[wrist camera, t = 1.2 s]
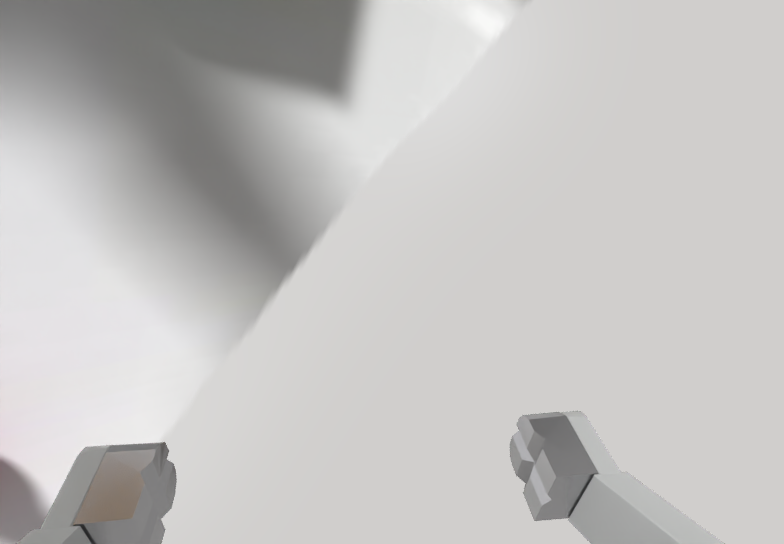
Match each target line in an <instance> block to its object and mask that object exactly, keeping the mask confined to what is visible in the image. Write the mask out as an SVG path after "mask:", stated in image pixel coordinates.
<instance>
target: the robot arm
mask: <svg viewBox="0 0 784 544" xmlns="http://www.w3.org/2000/svg"><path fill="white" fill-rule="evenodd" d="M517 427H518V429H519V431H518V432H517V433H516V434H514V435H513V436H512V439H511V442H510V457H511V462H512V465H513V468H514V470H515V473H516V475H517V476H518V477H519V478H520V479H521V480H523V481H524V482H525V483H526V484H525V488H524V492H523V494H524V496H525V499H526V501H527V503H528V506H529V508H530V511H531V514H532V516H533V518H534V520H535V521H539V520H551V519H562V518H569V519H568V520H569V522H570V523H571V524H572V525H573V526H574V527H575V528H576V529H577V530H578V531H579V532H580V533H581V534H582V535H583V536H584V537H585V538H586V539H587V540H588V541H589V542H590V543H591V544H725V543H723V542H722V541H720V540H719V539H718V538H716V537H715V536H714V535H712V534H711V533H710V532H708V531H707V530H705V529H704V528H703V527H701V526H700V525H699V524H697V523H696V522H695V521H693V520H692V519H690V518H689V517H688V516H686V515H685V514H684V513H682V512H681V511H680V510H678V509H677V508H675V507H674V506H673V505H671V504H670V503H669V502H667V501H666V500H664V499H663V498H662V497H661V496H659V495H658V494H656V493H655V492H654V491H652V490H651V489H649V488H648V487H647V486H645V485H644V484H643V483H641V482H640V481H639V480H637V479H636V478H635V477H633V476H632V475H631V474H629V473H628V472H621V471H620V470H619V468H618V466H617V465H616V463H615V462H614V460H613V459H612V457H611V455H610V454H609V452H608V450H607V449H606V447H605V445H604V444H603V443H602V441H601V439H600V437H599V436H598V434H597V433H596V431H595V429H594V428H593V426H592V425H591V423H590V421H589V420H588V418H587V416H586V415H585V414H584V413H582V412H581V411H572V412H562V413H560V412H553V413H543V414H531V415H523V416H521V417H520V418H519V420H518V422H517ZM168 452H169V450H168V448H167V445H166V443H165V442H159V443H143V444H126V445H106V446H93V447H85V448H84V449H83V450H82V451H81V453H80V454H79V455H78V456H77V458H76V460H75V462H74V464H73V466H72V468H71V470H70V471H69V473H68V475H67V477H66V479H65V481H64V483H63V485H62V487H61V489H60V491H59V493H58V495H57V497H56V499H55V501H54V503H53V505H52V507H51V509H50V511H49V513H48V514H47V516H46V518H45V520H44V522H43V524H42V526H41V528H40V529H37V530H31V531H30V532H29V533H28V534H27V535H25V536H24V537H23V538H22V539H21V540H20V541H19V542H17V543H16V544H161V543H162V539H163V536H164V532H165V528H164V526H163V523H162V521H161V518H162V517H163V516H164V515H165V514H166V513H167V512H168V511H169V510H170V509H171V507H172V503H173V500H174V496H175V489H176V470H175V467H174V464H173V463H172V462H170V461H168V460H167V456H168Z"/></svg>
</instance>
